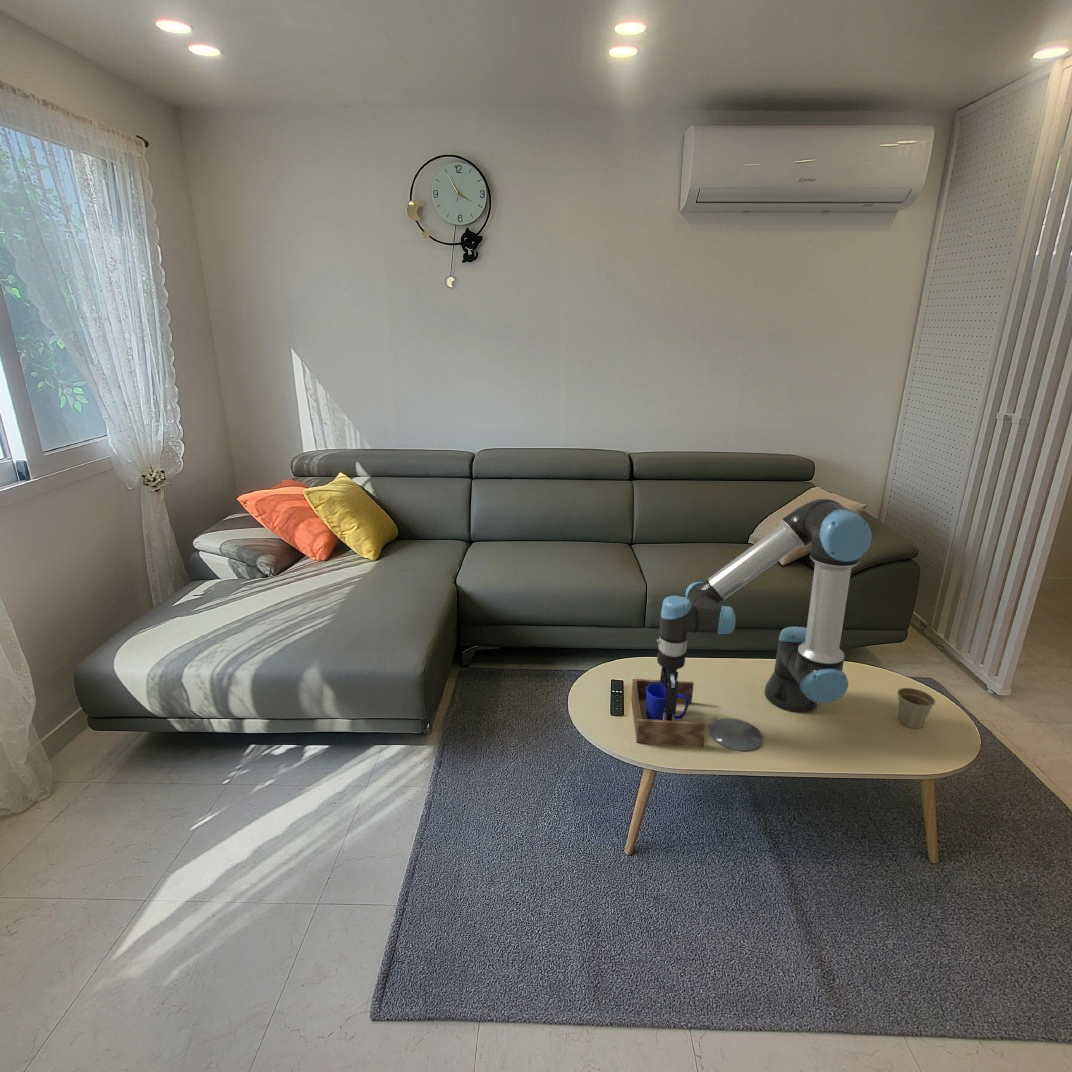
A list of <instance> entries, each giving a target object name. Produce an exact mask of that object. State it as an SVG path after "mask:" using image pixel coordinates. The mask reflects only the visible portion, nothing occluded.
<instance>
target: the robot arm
mask: <svg viewBox="0 0 1072 1072" xmlns="http://www.w3.org/2000/svg"><path fill="white" fill-rule="evenodd" d="M871 542H872V531H871V527H870V526H869V524H868V522H867V521H866V520H865V519H863V517H862V516H861V515H859V513H857V512H855V511H853V510H850V509H849V508H847V507H846V506H844V505H842V504H841V503H839V502H838V501H835V500H833V499H829V498H819V499H814V500H811V501H809V502H807V503H804V504H803V505H801V506H799V507H797V508H796V509H794V510H793V511H791V512H789V513H788V514H786V516H785V517H782V519H780V524H779V525H778V526H777V527H776V528H775V529H773V530H772V531H771V532H769V533H768V534H767V535H765V536H764V537H763V538H761V539H760V540H758V541H757V542H756V543H754V544H753V545H752V546H750V547H749V548H748V549H746V550H745V551H744V552H742V553H741V554H739V555H738V556H736V558H734V559H732V560H730V562H728V563H727V564H725V566H722V568H721V569H719V570H718V571H717V572H715V573H714V574H713V575H711V576H710V577H708V578H707V579H706V580H704V581H696V582H692V583H691V584H689V585H688V586H687V588H686V590H685V596H679V595H670V596H667V597H665V598H664V599H663V600H662V601H663V602H662V606H661V611H660V622H659V623H660V625H659V638H657V639H656V642H657V643H658V650H657V657H656V662H657V664H658V665H659V666H661V670H660V671H661V672H660V678H659V680H660V683H662V684H664V686H665V687H666V691H665V709H664V710H662V712H664V716H663V720H668V721H674V719H675V718H674V715H677V703H676V700H677V687H678V681H679V680H678V677H679V671H678V670H679V669H682V668H684V666H685V663H686V653H687V645H688V635H689V634H702V635H703V634H704V635H706V634H707V635H729V634H732V633H733V632H734V630H735V629H736V613H735V610H734V608H733V607H732V606H728V605H727V606H726V605H720V603H722V602H723V601H724V600H726V599H727V598H728V597H730V596H732V595H733V594H734V593H735V592H737V591H738V590H740V589H741V588H742V587H744V586H745V585H747V584H748V583H750V582H751V581H752V580H754V579H755V578H757V577H759V575H761V574H762V573H764V572H765V571H766V570H768V569H769V568H770V567H772V566H773V565H775V564H776V563H777V562H780V560H782V559H783V558H784V557H786V556H787V555H788V554H790V553H792V552H793V551H794V550H795V549H797V548H800V547H801V548H806V546H808V545H809V544H810V552H809V558H810V559H811V561H812V562H813V563H814V569H813V578H812V586H811V593H810V599H809V600H810V601H809V609H808V615H807V624H806V627H805V626H804V627H803V626H789V627H785V628H783V629H782V630H781V631H780V634H779V637H778V641H777V642H778V643H777V649H776V657H775V664H774V669H773V673H772V674H771V676H770V678H769V679H768V681H767V683H766V684H765V687H764V696H765V698H766V699H767V701H769V703H771V704H772V705H774V706H775V707H777V708H779V709H782V710H784V711H788V712H794V713H808V712H812V711H814V710H815V709H816V708H817V707H818V704H829V703H833V702H835V701H836V700H838V699H840V698H842V697H843V696H844V695H845V693H846V692H847V690H848V688H849V680H848V678H847V674H845V672H844V670H843V668H844V661H845V653H844V651H843V650H842V649H840V646H841V639H842V632H843V627H844V626H843V625H844V619H845V613H846V606H847V601H848V600H847V599H848V593H849V586H850V579H851V573H852V568H854V567H856V566H858V564H860V558H862V557H863V554H866V553H867V552H868V551H869V549H870V546H871Z"/></svg>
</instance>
